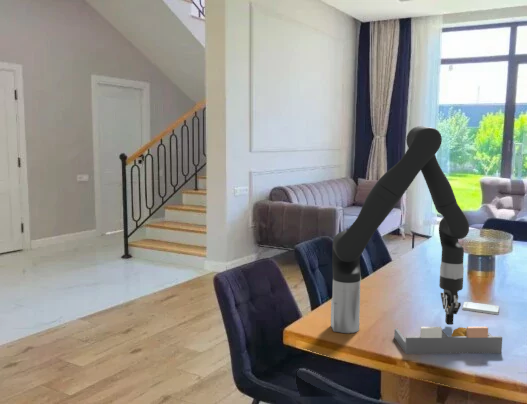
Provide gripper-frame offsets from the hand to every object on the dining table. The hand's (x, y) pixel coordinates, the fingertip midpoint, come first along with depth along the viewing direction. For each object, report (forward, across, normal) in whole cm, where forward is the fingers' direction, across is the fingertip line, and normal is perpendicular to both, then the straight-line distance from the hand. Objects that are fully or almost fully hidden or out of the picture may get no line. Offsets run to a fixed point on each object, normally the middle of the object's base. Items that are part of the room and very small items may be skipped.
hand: (449, 323), depth 179 cm
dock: (+1, +16, -7) cm, 17 cm away
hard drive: (+2, -19, +19) cm, 27 cm away
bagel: (+1, +16, 0) cm, 16 cm away
